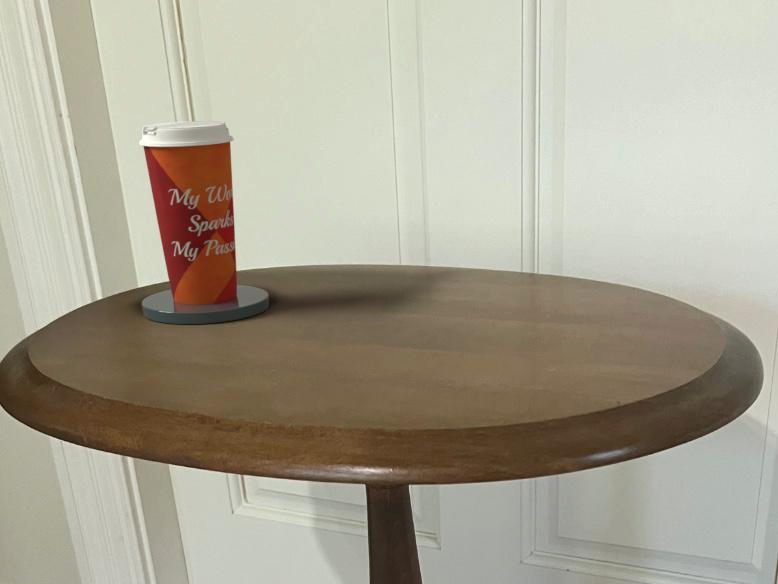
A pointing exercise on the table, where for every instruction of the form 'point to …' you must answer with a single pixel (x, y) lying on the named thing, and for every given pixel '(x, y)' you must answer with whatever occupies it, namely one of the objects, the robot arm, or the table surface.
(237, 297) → the coaster
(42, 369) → the table surface
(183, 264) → the paper cup
